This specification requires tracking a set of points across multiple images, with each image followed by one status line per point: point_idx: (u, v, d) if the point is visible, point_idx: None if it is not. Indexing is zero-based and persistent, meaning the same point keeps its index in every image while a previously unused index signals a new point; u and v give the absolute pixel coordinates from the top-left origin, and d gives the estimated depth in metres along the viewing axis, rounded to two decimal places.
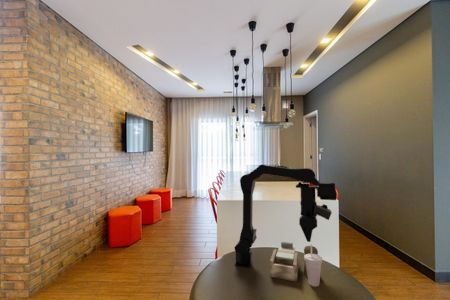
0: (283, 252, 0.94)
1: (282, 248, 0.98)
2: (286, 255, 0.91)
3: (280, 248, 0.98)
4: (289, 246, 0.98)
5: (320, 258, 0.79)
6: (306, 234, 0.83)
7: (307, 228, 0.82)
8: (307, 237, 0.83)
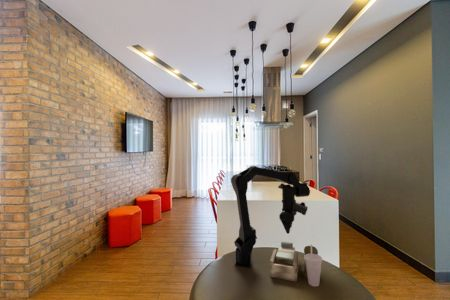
0: (283, 252, 0.94)
1: (282, 248, 0.98)
2: (286, 255, 0.91)
3: (280, 248, 0.98)
4: (289, 246, 0.98)
5: (320, 258, 0.79)
6: (286, 227, 0.98)
7: (286, 222, 0.98)
8: (286, 229, 0.99)
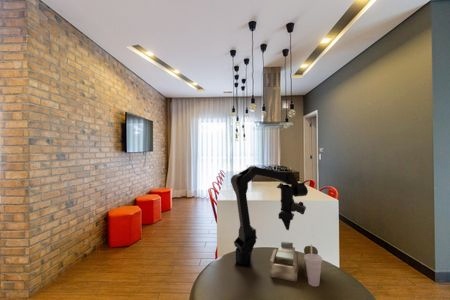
0: (283, 252, 0.94)
1: (282, 248, 0.98)
2: (286, 255, 0.91)
3: (280, 248, 0.98)
4: (289, 246, 0.98)
5: (320, 258, 0.79)
6: (285, 224, 1.03)
7: None
8: (286, 226, 1.04)
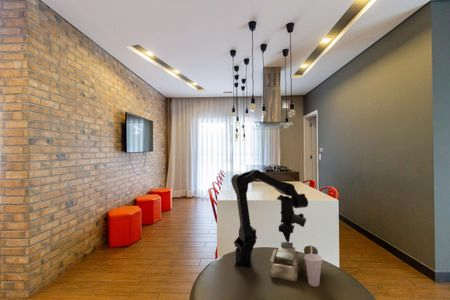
0: (283, 252, 0.94)
1: (282, 248, 0.98)
2: (286, 255, 0.91)
3: (280, 248, 0.98)
4: (289, 246, 0.98)
5: (320, 258, 0.79)
6: (285, 236, 1.03)
7: None
8: (286, 238, 1.03)
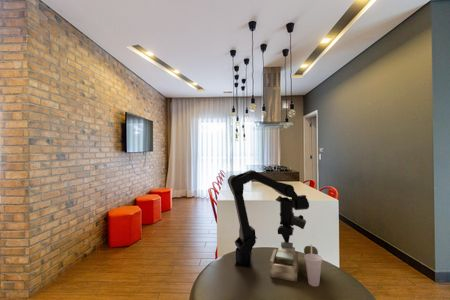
0: (283, 252, 0.94)
1: (282, 248, 0.98)
2: (286, 255, 0.91)
3: (280, 248, 0.98)
4: (289, 246, 0.98)
5: (320, 258, 0.79)
6: (285, 238, 1.00)
7: None
8: (286, 240, 1.00)
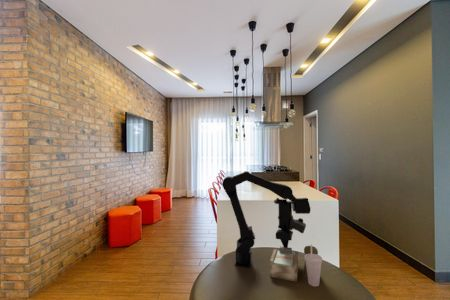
0: (281, 258, 0.88)
1: (281, 253, 0.93)
2: (285, 261, 0.85)
3: (278, 253, 0.92)
4: (288, 251, 0.92)
5: (320, 258, 0.79)
6: (283, 243, 0.94)
7: None
8: (284, 245, 0.95)
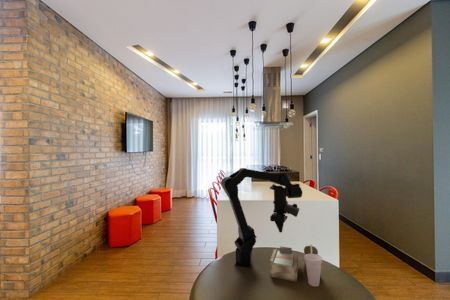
0: (281, 258, 0.88)
1: (281, 253, 0.93)
2: (285, 261, 0.85)
3: (278, 253, 0.92)
4: (288, 251, 0.92)
5: (320, 258, 0.79)
6: (278, 226, 1.01)
7: None
8: (279, 228, 1.01)
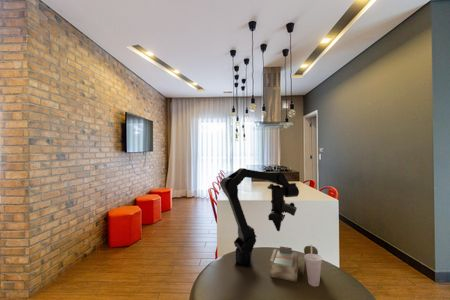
0: (281, 258, 0.88)
1: (281, 253, 0.93)
2: (285, 261, 0.85)
3: (278, 253, 0.92)
4: (288, 251, 0.92)
5: (320, 258, 0.79)
6: (276, 225, 1.02)
7: None
8: (277, 227, 1.02)
